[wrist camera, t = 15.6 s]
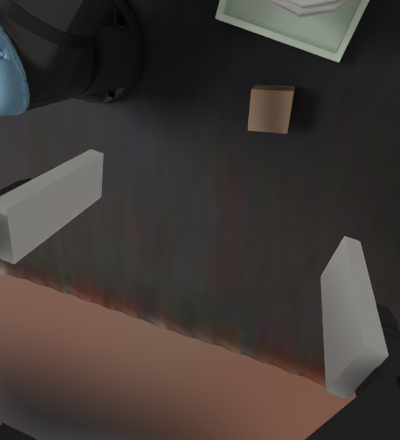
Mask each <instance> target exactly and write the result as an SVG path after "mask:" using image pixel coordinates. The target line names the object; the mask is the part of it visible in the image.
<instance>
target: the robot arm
mask: <svg viewBox="0 0 400 440" xmlns="http://www.w3.org/2000/svg"><path fill="white" fill-rule="evenodd" d="M143 57H144V48H143V40H142V35H141V31H140V27H139V25H138V22H137V20H136V18H135V16H134V14H133V12H132V10H131V9H130V7H129V6H128V5H127V3H126V2H125V1H124V0H0V116H5V115H18V114H21V113H23V112H25V111H27V110H30V109H34V108H38V107H41V106H45V105H49V104H52V103H56V102H60V101H63V100H67V99H71V98H76V99H80V100H84V101H87V102H92V103H106V102H110V101H113V100H116V99H119V98H121V97H123V96H124V95H126V94H127V93H128V92H129V91H130V90H131V89H132V88H133V87H134V85H135V84H136V82H137V80H138V78H139V76H140V73H141V70H142V65H143ZM102 171H103V153H100V152H97V151H94V150H91V149H90V150H89V151H87V152H85V153H83V154H81V155H79V156H77V157H75V158H73V159H71V160H69V161H67V162H65V163H63V164H62V165H60V166H58V167H56V168H54V169H52V170H50V171H48V172H46V173H44V174H42V175H40V176H38V177H37V178H35V179H31V178H29V179H25V180H20V181H17V182H15V183H13V184H11V185H9V186H8V187H5V188H3V189H1V191H0V259H2V260H5V261H7V262H10V263H12V264H15V263H17V262H18V261H19V260H20V259H22V258H23V257H24V256H26V255H27V254H28V253H29V252H31V251H32V250H33V249H35V248H36V247H37V246H39V245H40V244H41V243H42V242H44V241H45V240H46V239H48V238H49V237H50V236H51V235H53V234H54V233H55V232H57V231H58V230H59V229H60V228H62V227H63V226H64V225H66V224H67V223H68V222H70V221H71V220H72V219H73V218H75V217H76V216H77V215H79V214H80V213H81V212H82V211H84V210H85V209H86V208H88V207H89V206H90V205H91V204H93V203H94V202H95V201H97V200H98V199H99V198H101V189H102ZM321 293H322V314H323V334H324V354H325V375H326V391H327V392H328V393H331V394H333V395H336V396H338V397H341V398H343V399H346V400H348V399H349V398H350V397H351V396H352V395H353V394H354V393H355V392H356V398H354V399H353V400H352V401H351V402H350V403H349V404H347V405H346V406H345V407H344V408H343V409H341V410H340V411H339V412H338V413H337V414H335V415H334V416H333V417H332V418H330V419H329V420H328V421H327V422H326V423H324V424H323V425H322V426H321V427H320V428H318V429H317V430H316V431H315V432H314V433H312V434H311V435H310V436H309V437H308V438H306V439H305V440H400V332H399V327H398V324H397V320H396V318H395V317H394V316H393V314H392V313H391V311H390V310H389V309H388V308H387V307H384V306H381V305H378V304H376V303H375V299H374V295H373V291H372V287H371V283H370V279H369V275H368V271H367V267H366V263H365V259H364V255H363V251H362V247H361V243H360V241H357V240H355V239H352V238H349V237H346V236H344V238H343V239H342V241H341V243H340V244H339V246H338V248H337V250H336V251H335V253H334V255H333V256H332V258H331V260H330V261H329V263H328V265H327V267H326V268H325V270H324V272H323V273H322V275H321ZM0 440H36V439H35V438H33V437H31V436H29V435H27V434H25V433H23V432H21V431H19V430H16V429H14V428H12V427H10V426H8V425H6V424H4V423H2V425H1V426H0Z"/></svg>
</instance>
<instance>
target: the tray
mask: <svg viewBox="0 0 400 440" xmlns="http://www.w3.org/2000/svg"><path fill="white" fill-rule="evenodd" d="M368 2H369V0H350V1H349V2H348V3H346V4H345V5H344V6H342V7H341V8H340V9H339V10H337V11H336V12H333V13H326V14H320V15H314V16H308V17H301V18H299V17H297V16H295V15H293V14H291V13H289V12H287V11H285V10H283V9H281V8H279V7H277V6H275V5H272V4H270V2H269V0H220V2H219V5H218V9H217V13H216V17H215V19H218V20H220V21H223V22H226V23H229V24H232V25H235V26H237V27H240V28H243V29H246V30H249V31H251V32H254V33H257V34H260V35H263V36H265V37H268V38H271V39H274V40H277V41H280V42H282V43H285V44H288V45H291V46H294V47H296V48H299V49H302V50H305V51H308V52H310V53H313V54H316V55H319V56H322V57H325V58H327V59H330V60H333V61H336V62H340V59H341V57H342V55H343V53H344V51H345V49H346V47H347V45H348V43H349V41H350V39H351V37H352V35H353V33H354V31H355V29H356V27H357V25H358V23H359V21H360V18H361V16H362V14H363V12H364V10H365V8H366V6H367V4H368Z"/></svg>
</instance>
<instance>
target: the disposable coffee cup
mask: <svg viewBox="0 0 400 440" xmlns="http://www.w3.org/2000/svg"><path fill="white" fill-rule="evenodd" d="M349 1H350V0H269V2H270V4H272V5H275V6H277V7H279V8H281V9H283V10H285V11H287V12H289V13H291V14H293V15H295V16H297V17H299V18H301V17H308V16H314V15H320V14H326V13H333V12H336V11H337V10H339V9H340V8H341V7H342V6H344V5H345V4H346V3H348V2H349Z"/></svg>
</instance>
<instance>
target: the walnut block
mask: <svg viewBox="0 0 400 440" xmlns="http://www.w3.org/2000/svg"><path fill="white" fill-rule="evenodd" d="M294 90H295V86H284V85H266V84H256V85H255V86H254V87H253V88H252V89H251V99H250V110H249V121H248V130H249V131H260V132H271V133H282V134H287V132H288V127H289V122H290V115H291V109H292V103H293V96H294Z"/></svg>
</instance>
